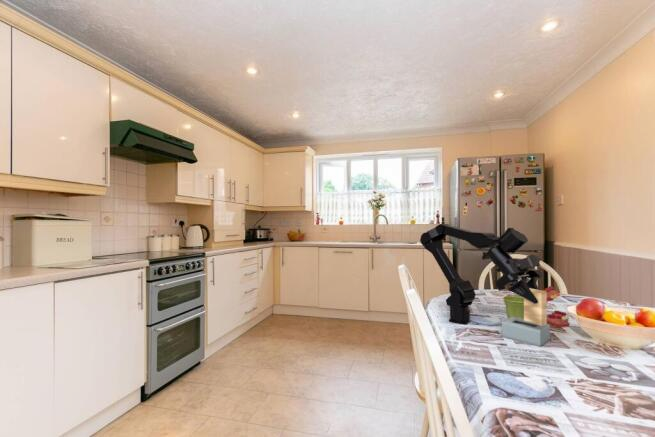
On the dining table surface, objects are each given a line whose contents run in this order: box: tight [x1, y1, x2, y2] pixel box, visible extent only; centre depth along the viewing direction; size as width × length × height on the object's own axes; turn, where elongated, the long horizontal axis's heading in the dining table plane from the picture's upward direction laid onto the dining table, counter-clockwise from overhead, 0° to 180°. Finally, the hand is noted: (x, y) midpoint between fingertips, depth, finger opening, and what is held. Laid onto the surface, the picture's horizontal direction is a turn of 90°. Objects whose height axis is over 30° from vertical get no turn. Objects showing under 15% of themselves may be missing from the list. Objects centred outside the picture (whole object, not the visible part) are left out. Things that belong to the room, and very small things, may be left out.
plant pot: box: [502, 295, 524, 319], centre depth 117 cm, size 9×9×9 cm
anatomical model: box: [542, 285, 570, 328], centre depth 115 cm, size 10×8×15 cm
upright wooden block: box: [523, 288, 548, 326], centre depth 94 cm, size 5×3×10 cm, turn 29°
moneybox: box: [501, 317, 551, 348], centre depth 100 cm, size 11×9×5 cm
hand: (539, 302), depth 93 cm, fingers closed on upright wooden block, 3 cm apart
